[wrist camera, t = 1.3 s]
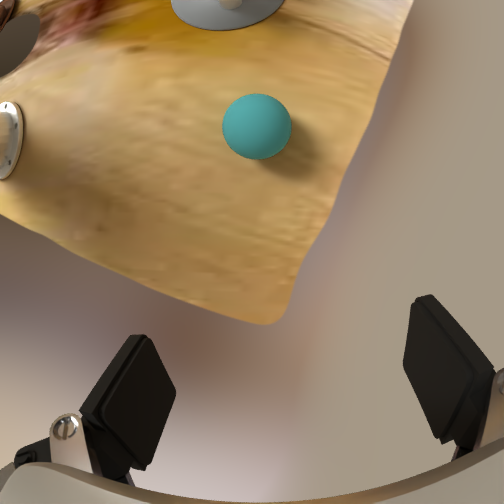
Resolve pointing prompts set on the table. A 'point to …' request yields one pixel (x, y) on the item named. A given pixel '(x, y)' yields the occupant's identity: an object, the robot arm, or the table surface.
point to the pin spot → (223, 13)
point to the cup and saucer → (5, 12)
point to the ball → (256, 126)
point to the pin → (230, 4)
